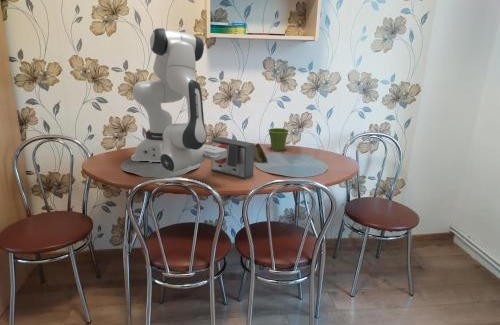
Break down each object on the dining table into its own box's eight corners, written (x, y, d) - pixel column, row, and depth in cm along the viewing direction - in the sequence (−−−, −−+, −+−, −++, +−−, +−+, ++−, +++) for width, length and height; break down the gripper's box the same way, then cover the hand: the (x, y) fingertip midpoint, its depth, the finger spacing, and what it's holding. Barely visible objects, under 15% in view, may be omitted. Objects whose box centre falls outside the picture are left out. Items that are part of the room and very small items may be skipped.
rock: (246, 152, 188) (246, 155, 179) (256, 140, 187) (257, 142, 178) (262, 165, 190) (263, 168, 180) (272, 152, 189) (274, 155, 179)
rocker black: (229, 164, 157) (232, 144, 156) (237, 166, 155) (239, 146, 154) (227, 165, 156) (229, 144, 154) (234, 167, 154) (236, 146, 152)
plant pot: (267, 146, 211) (268, 127, 208) (287, 147, 210) (289, 128, 207) (266, 151, 200) (267, 132, 196) (287, 152, 199) (289, 133, 195)
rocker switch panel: (220, 167, 171) (220, 136, 167) (253, 175, 161) (254, 143, 157) (210, 171, 166) (210, 139, 161) (244, 179, 156) (245, 147, 151)
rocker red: (217, 160, 163) (215, 142, 159) (224, 162, 161) (222, 144, 157) (214, 162, 161) (213, 144, 157) (221, 164, 159) (220, 145, 155)
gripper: (214, 150, 139) (235, 143, 150) (177, 142, 150) (199, 136, 161) (214, 166, 141) (235, 158, 152) (177, 156, 152) (199, 149, 163)
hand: (216, 146), depth 157 cm, fingers closed, pressing on rocker red
